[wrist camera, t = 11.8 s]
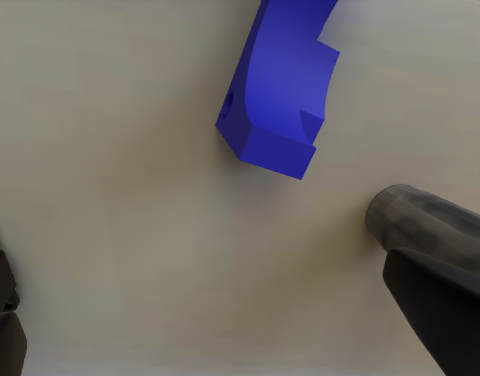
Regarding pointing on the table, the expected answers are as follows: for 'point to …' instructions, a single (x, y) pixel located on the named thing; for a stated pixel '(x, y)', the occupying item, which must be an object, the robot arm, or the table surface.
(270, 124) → the blue u-shaped bracket
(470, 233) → the beverage cup
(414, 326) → the robot arm
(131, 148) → the table surface
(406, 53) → the table surface
